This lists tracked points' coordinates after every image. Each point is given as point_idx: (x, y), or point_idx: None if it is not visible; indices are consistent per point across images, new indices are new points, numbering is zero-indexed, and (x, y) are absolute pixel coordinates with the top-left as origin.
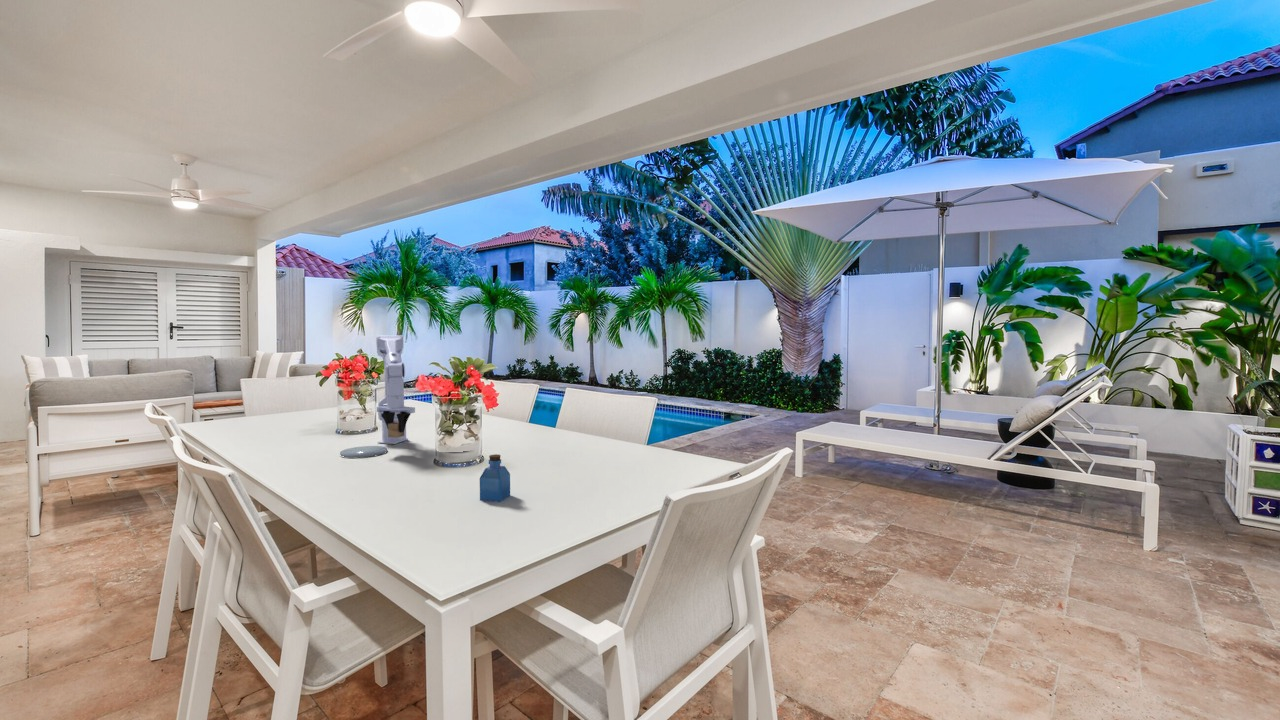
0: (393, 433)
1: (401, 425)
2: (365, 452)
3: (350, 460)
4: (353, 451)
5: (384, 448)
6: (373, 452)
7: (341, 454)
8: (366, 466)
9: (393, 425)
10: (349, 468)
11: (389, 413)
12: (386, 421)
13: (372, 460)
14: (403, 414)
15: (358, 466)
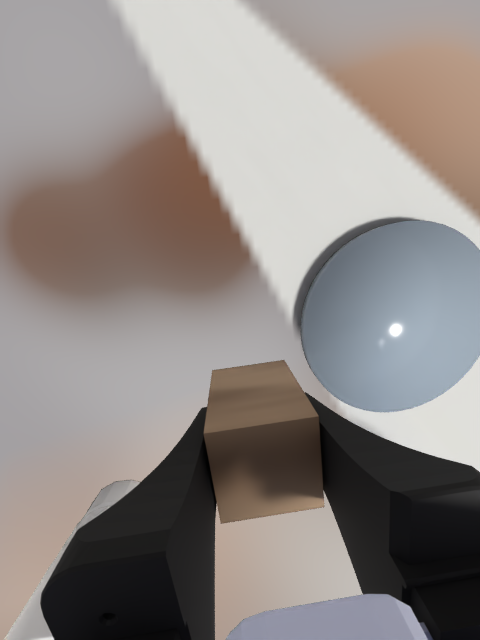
0: (246, 377)
1: (179, 443)
2: (367, 295)
3: (358, 186)
4: (434, 292)
5: (338, 385)
6: (332, 308)
7: (454, 230)
8: (196, 103)
9: (251, 415)
10: (246, 32)
11: (396, 579)
12: (352, 436)
13: (260, 221)
14: (47, 590)
15: (234, 89)
